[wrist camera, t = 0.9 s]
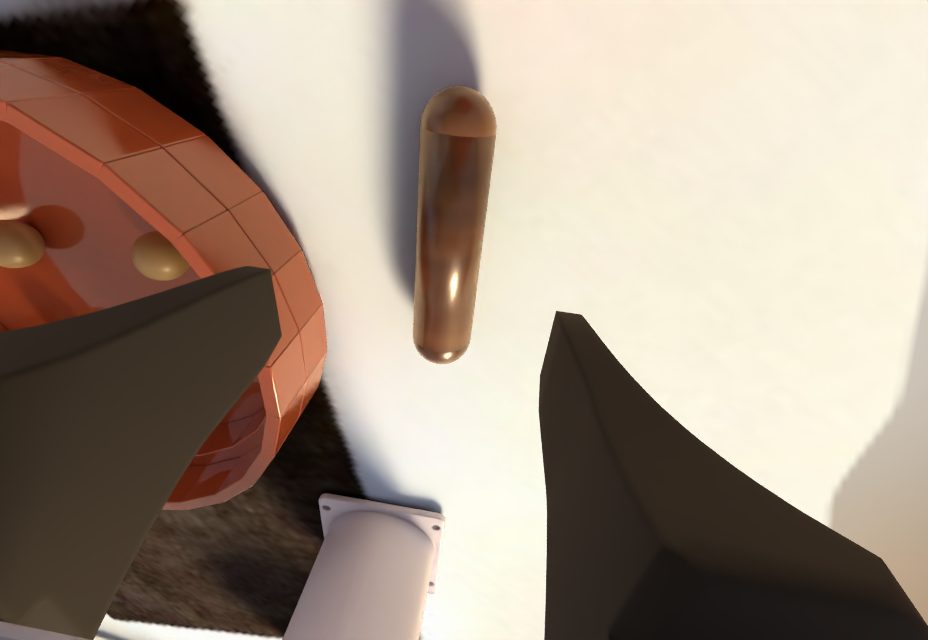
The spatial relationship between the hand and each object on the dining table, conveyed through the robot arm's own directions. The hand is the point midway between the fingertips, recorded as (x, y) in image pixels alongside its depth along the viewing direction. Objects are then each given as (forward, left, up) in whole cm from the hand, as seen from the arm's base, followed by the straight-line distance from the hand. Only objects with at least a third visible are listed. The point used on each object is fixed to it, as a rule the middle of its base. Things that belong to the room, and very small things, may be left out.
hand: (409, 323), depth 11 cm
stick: (0, 0, -7) cm, 7 cm away
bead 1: (-3, +18, -5) cm, 19 cm away
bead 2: (-2, +11, -5) cm, 13 cm away
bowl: (-5, +15, -7) cm, 17 cm away
